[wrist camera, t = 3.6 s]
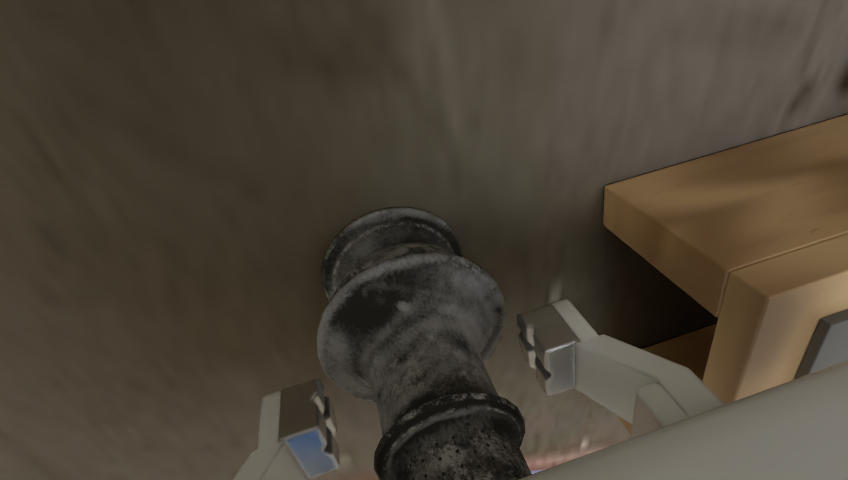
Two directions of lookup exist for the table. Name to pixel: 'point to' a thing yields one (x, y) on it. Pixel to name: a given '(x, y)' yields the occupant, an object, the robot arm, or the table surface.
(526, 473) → the chess piece
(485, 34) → the table surface
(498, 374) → the table surface
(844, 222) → the stand
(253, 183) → the table surface
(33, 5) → the table surface
